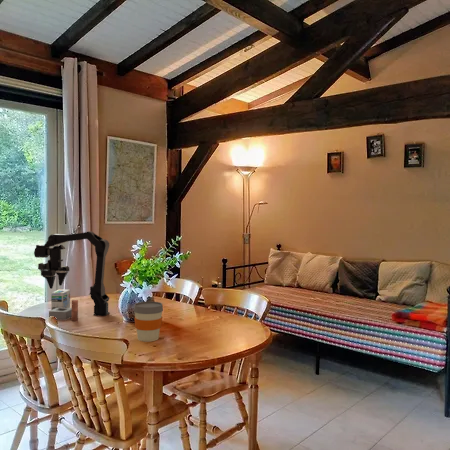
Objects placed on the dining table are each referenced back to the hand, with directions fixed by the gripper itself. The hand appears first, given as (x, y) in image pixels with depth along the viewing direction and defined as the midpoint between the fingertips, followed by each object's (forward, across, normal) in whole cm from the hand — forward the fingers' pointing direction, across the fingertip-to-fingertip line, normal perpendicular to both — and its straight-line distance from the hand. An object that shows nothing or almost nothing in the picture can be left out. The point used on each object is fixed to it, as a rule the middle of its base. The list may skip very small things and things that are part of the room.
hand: (55, 287), depth 231 cm
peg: (+14, +12, +16) cm, 25 cm away
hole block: (+14, +8, +7) cm, 18 cm away
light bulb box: (+14, -6, -1) cm, 16 cm away
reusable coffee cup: (+15, +33, +62) cm, 72 cm away
